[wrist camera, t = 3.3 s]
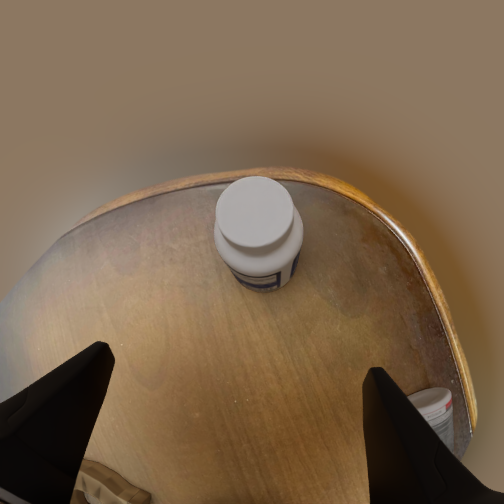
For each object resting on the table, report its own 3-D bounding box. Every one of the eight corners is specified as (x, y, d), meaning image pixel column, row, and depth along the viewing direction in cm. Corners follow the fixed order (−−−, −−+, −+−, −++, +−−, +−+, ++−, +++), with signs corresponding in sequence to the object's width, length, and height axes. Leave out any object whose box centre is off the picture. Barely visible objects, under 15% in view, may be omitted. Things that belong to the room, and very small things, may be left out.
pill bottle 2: (398, 416, 15) (403, 498, 12) (458, 395, 14) (458, 480, 11) (392, 398, 19) (399, 472, 17) (442, 381, 18) (446, 457, 15)
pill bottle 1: (266, 218, 24) (259, 147, 15) (310, 263, 23) (331, 212, 14) (217, 258, 24) (181, 207, 14) (260, 307, 22) (248, 284, 13)
